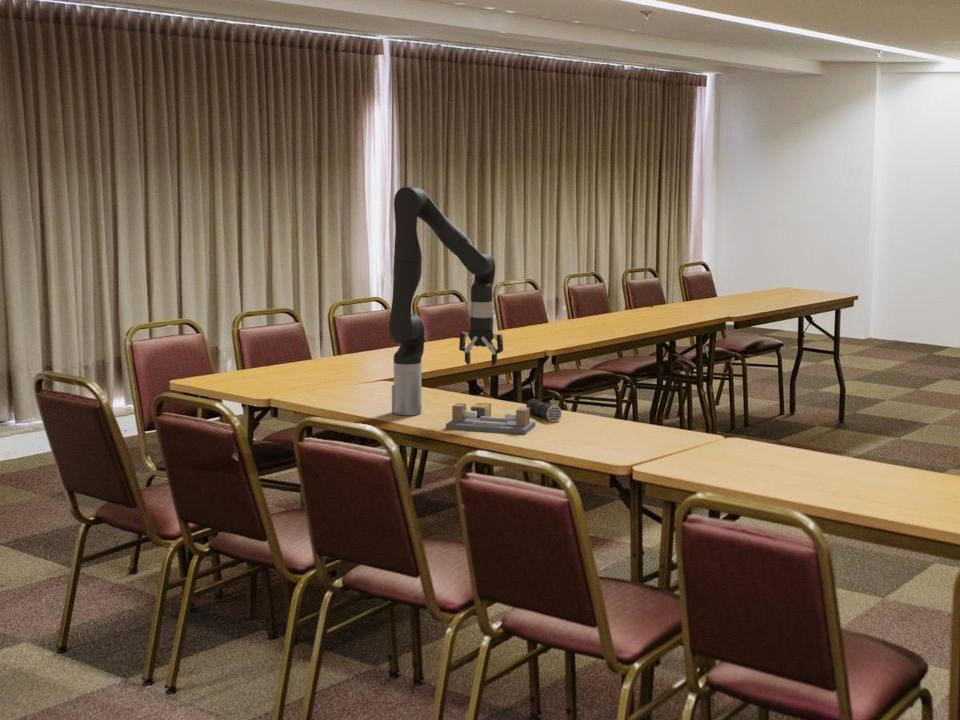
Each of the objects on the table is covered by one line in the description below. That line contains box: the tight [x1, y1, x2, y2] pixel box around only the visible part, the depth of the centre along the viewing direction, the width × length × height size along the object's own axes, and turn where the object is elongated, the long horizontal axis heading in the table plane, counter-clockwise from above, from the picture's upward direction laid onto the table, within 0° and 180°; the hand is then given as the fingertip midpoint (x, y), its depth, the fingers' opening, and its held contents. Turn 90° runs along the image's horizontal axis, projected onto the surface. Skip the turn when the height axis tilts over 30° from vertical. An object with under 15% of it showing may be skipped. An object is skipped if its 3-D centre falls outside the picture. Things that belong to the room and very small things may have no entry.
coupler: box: [470, 402, 492, 418], centre depth 379 cm, size 8×4×4 cm, turn 163°
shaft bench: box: [445, 402, 536, 435], centre depth 365 cm, size 26×12×7 cm, turn 73°
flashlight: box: [525, 398, 562, 422], centre depth 382 cm, size 15×5×5 cm, turn 26°
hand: (480, 364), depth 377 cm, fingers open, 8 cm apart
